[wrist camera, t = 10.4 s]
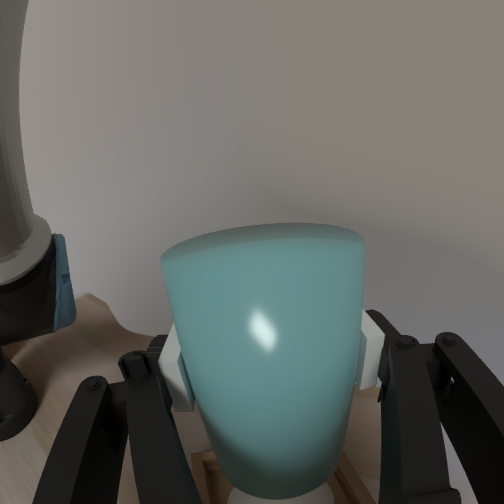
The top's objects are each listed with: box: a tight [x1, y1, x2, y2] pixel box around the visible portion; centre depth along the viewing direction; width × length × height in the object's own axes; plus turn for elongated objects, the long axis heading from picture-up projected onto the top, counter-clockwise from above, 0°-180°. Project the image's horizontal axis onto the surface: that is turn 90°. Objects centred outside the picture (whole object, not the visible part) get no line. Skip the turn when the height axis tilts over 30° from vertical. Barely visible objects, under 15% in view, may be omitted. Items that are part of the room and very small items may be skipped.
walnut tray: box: [191, 451, 376, 504], centre depth 16 cm, size 13×13×3 cm
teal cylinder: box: [161, 223, 365, 500], centre depth 11 cm, size 7×7×12 cm
